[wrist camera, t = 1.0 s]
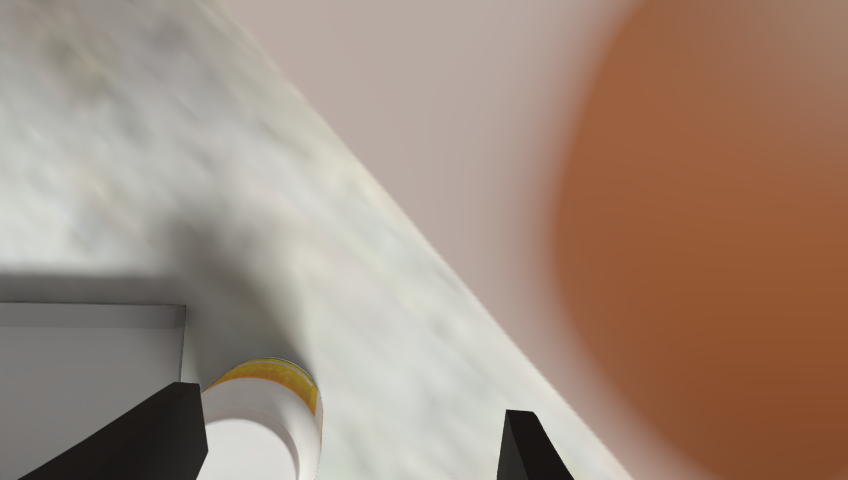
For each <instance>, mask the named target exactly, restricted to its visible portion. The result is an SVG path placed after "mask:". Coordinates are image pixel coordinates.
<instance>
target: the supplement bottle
mask: <svg viewBox="0 0 848 480" xmlns="http://www.w3.org/2000/svg"><path fill="white" fill-rule="evenodd" d="M201 401H202V408H203V415H204V422H205V429H206V436H207V443H208V450H209V452H208V454H207V456H206V459H205V461H204V463H203V466H202V468H201V470H200V472H199V475H198V477H197V479H196V480H315V478H316V475H317V472H318V468H319V463H320V456H321V443H322V424H323V404H322V398H321V395H320V392H319V389H318V387H317V385H316V383H315V382H314V380H313V379H312V378H311V376H310V375H309V374H308V373H307V372H306V371H305V370H303V369H302V368H301V367H299V366H298V365H296V364H294V363H292V362H290V361H288V360H285V359H281V358H276V357H260V358H255V359H251V360H248V361H245V362H243V363H241V364H239V365H237V366H236V367H234V368H233V369H231V370H230V371H229V372H227V373H226V374H225V375H223V376H222V377H221V378H219V380H217V381H216V382H215V383H213V384H212V385H211V386H210V387H208V388H207V389H206V390H205V391H204V392H202V393H201Z"/></svg>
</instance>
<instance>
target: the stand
mask: <svg viewBox="0 0 848 480" xmlns="http://www.w3.org/2000/svg"><path fill="white" fill-rule="evenodd" d="M185 313H186V305H160V304H109V303H59V302H9V301H0V480H17V479H19V478H21V477H23V476H24V475H26V474H28V473H30V472H31V471H33V470H35V469H36V468H38V467H40V466H41V465H43V464H45V463H46V462H48V461H50V460H51V459H53V458H55V457H56V456H58V455H60V454H61V453H63V452H65V451H66V450H68V449H70V448H71V447H73V446H75V445H76V444H78V443H80V442H81V441H83V440H84V439H86V438H88V437H89V436H91V435H92V434H94V433H95V432H97V431H98V430H100V429H101V428H103V427H105V426H106V425H108V424H109V423H111V422H112V421H114V420H115V419H117V418H118V417H120V416H121V415H123V414H124V413H126V412H128V411H129V410H131V409H132V408H134V407H135V406H137V405H138V404H140V403H141V402H143V401H144V400H146V399H147V398H149V397H150V396H152V395H153V394H155V393H156V392H158V391H160V390H161V389H163V388H164V387H166V386H168V385H169V384H171V383H173V382H180V380H181V366H182V353H183V339H184V326H185Z"/></svg>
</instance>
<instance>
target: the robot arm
mask: <svg viewBox="0 0 848 480" xmlns="http://www.w3.org/2000/svg"><path fill="white" fill-rule="evenodd" d="M208 452H209V450H208V443H207V436H206V429H205V422H204V415H203V408H202V401H201V393H200V386H199V384H195V383H183V382H173V383H171V384H169V385H168V386H166V387H164V388H163V389H161V390H160V391H158V392H156V393H155V394H153V395H152V396H150V397H149V398H147V399H146V400H144V401H143V402H141V403H140V404H138V405H137V406H135V407H134V408H132V409H131V410H129V411H128V412H126V413H124V414H123V415H121V416H120V417H118V418H117V419H115V420H114V421H112V422H111V423H109V424H108V425H106V426H105V427H103V428H101V429H100V430H98V431H97V432H95V433H94V434H92V435H91V436H89V437H88V438H86V439H84V440H83V441H81V442H80V443H78V444H76V445H75V446H73V447H71V448H70V449H68V450H66V451H65V452H63V453H61V454H60V455H58V456H56V457H55V458H53V459H51V460H50V461H48V462H46V463H45V464H43V465H41V466H40V467H38V468H36V469H35V470H33V471H31V472H30V473H28V474H26V475H24V476H23V477H21V478H19V479H17V480H196V479H197V477H198V475H199V472H200V470H201V468H202V466H203V463H204V461H205V459H206V456H207V454H208ZM497 480H574V478H573V477H572V475H571V474H570V472H569V471H568V469H567V468H566V466H565V465H564V463H563V461H562V460H561V458H560V456H559V455H558V453H557V451H556V450H555V448H554V446H553V445H552V443H551V441H550V439H549V438H548V436H547V434H546V432H545V431H544V429H543V427H542V425H541V423H540V421H539V419H538V417H537V416H536V415H535V414H534V412H531V411H519V410H507V409H506V414H505V421H504V428H503V436H502V443H501V450H500V457H499V464H498V471H497Z"/></svg>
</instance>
